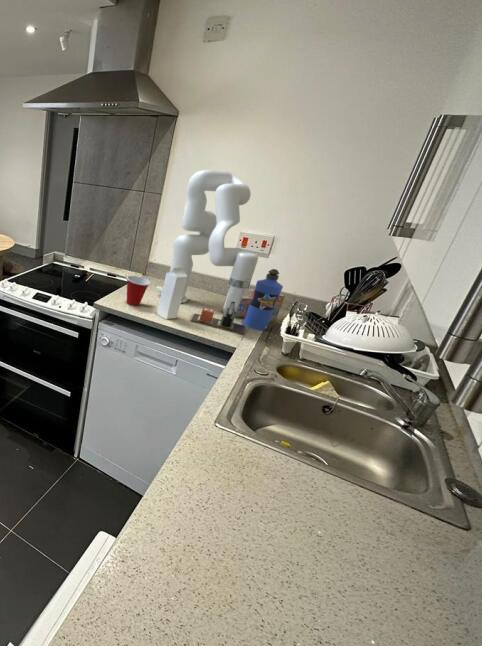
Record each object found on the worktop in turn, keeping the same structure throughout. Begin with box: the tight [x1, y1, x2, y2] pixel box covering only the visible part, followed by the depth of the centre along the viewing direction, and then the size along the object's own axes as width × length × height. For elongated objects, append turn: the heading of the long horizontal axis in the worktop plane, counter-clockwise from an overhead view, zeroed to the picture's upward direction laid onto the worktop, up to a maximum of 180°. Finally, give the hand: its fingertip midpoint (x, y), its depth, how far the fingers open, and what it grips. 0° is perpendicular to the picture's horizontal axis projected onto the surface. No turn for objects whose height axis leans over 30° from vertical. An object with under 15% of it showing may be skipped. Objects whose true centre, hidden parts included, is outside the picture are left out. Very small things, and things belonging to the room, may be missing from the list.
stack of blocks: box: [221, 288, 285, 322], centre depth 176 cm, size 21×6×12 cm, turn 84°
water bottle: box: [242, 268, 284, 331], centre depth 163 cm, size 9×9×25 cm
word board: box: [190, 313, 245, 335], centre depth 167 cm, size 20×10×1 cm, turn 59°
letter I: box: [220, 312, 236, 328], centre depth 164 cm, size 4×4×5 cm
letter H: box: [200, 307, 215, 323], centre depth 168 cm, size 4×4×5 cm
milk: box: [156, 267, 187, 320], centre depth 166 cm, size 6×6×22 cm
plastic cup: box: [126, 275, 152, 307], centre depth 179 cm, size 11×11×12 cm
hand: (226, 323), depth 165 cm, fingers closed on letter I, 4 cm apart
